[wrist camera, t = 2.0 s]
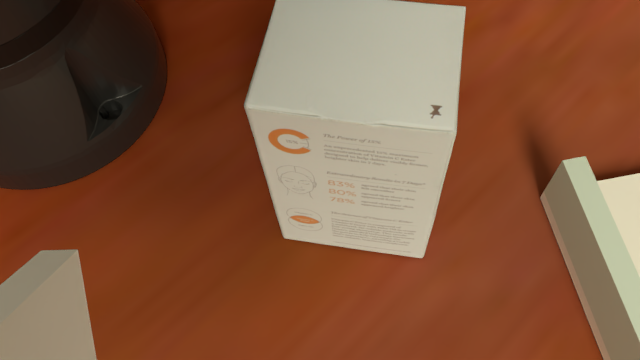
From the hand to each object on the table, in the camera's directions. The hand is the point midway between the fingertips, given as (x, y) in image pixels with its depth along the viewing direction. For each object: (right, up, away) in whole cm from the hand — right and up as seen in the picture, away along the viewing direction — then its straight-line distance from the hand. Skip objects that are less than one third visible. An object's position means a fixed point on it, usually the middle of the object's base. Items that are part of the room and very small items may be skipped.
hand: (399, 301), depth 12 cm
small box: (+1, +1, +23) cm, 23 cm away
